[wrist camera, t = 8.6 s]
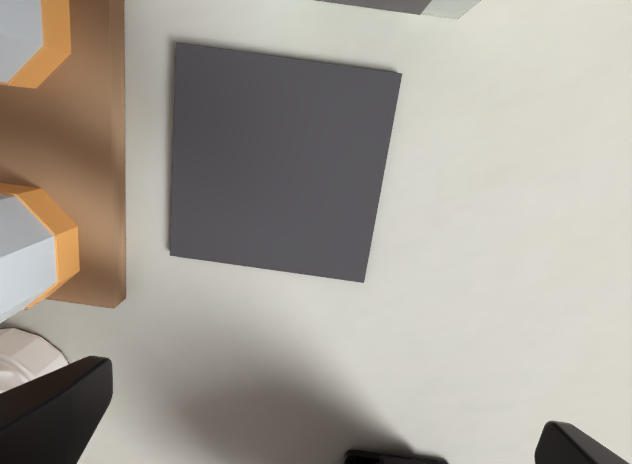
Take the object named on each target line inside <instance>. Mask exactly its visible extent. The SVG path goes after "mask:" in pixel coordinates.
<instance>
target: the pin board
mask: <svg viewBox="0 0 632 464" xmlns="http://www.w3.org/2000/svg"><path fill="white" fill-rule="evenodd" d="M69 11H70V34H71V54H70V55H69V56H68V57H67V58H66V59H65V60H64V61H63V62H62V63H61V64H60V65H59V66H58V67H57V68H56V69H55V70H54V71H53V72H52V73H51V74H50V75H49V76H48V77H47V78H46V79H45V80H44V81H43V82H42V83H41V84H40V85H39V86H38V87H37V88H36V89H34V88H25V87H16V86H8V85H0V183H7V184H14V185H21V186H28V187H36V188H42V189H43V190H44V191H45V192H46V193H47V194H48V195H49V196H50V197H51V199H52V200H53V201H54V202H55V203H56V204H57V205H58V206H59V207H60V208H61V209H62V210H63V211H64V212H65V213H66V215H67V216H68V217H69V218H70V219H71V220H72V221H73V222H74V223H75V224H76V225H77V226H78V243H79V266H80V271H79V272H78V273H76V274H75V275H74V276H73V277H72V278H70V279H69V280H68V281H67V282H66V283H64V284H63V285H62V286H61V287H59V288H58V289H57V290H56V291H55V292H53V293H52V294H51V295H50V296H48V297H47V298H45V299H50V300H57V301H64V302H71V303H78V304H85V305H92V306H99V307H106V308H115V307H116V306H117V305H119V304H120V303H121V302H122V301H123V300H124V299H126V225H125V73H124V0H69Z"/></svg>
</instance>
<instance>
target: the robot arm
mask: <svg viewBox="0 0 632 464" xmlns="http://www.w3.org/2000/svg"><path fill="white" fill-rule="evenodd" d="M112 394H113V373H112V362H111V360H110V359H109V358H105V357H98V356H88V357H85V358H83V359H81V360H78V361H76V362H74V363H71V364H69V365H66V366H64V367H62V368H59V369H57V370H55V371H52V372H50V373H48V374H45V375H43V376H40V377H38V378H36V379H33V380H31V381H29V382H26V383H24V384H22V385H19V386H17V387H14V388H12V389H10V390H7V391H5V392H3V393H0V464H77V462H78V460H79V459H80V457H81V455H82V453H83V451H84V450H85V448H86V446H87V444H88V442H89V440H90V439H91V437H92V435H93V433H94V431H95V429H96V428H97V426H98V424H99V422H100V420H101V419H102V417H103V415H104V413H105V411H106V409H107V408H108V406H109V404H110V401H111V398H112ZM351 459H355V460H351ZM343 464H448V463H442V462H435V461H428V460H421V459H414V458H407V457H400V456H393V455H386V454H379V453H372V452H365V451H358V450H350V451H347V452H346V453H345V456H344V461H343ZM535 464H629V463H628V462H626V461H625V460H623V459H622V458H620V457H619V456H618V455H616V454H615V453H613V452H612V451H610V450H609V449H607V448H606V447H604V446H603V445H601V444H600V443H598V442H597V441H595V440H594V439H593V438H591V437H590V436H588V435H587V434H585V433H584V432H582V431H581V430H579V429H578V428H576V427H575V426H573V425H572V424H569V423H565V422H558V421H548V422H547V423H546V424H545V426H544V428H543V431H542V434H541V437H540V439H539V442H538V445H537V447H536V450H535Z"/></svg>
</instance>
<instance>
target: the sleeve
mask: <svg viewBox="0 0 632 464" xmlns="http://www.w3.org/2000/svg"><path fill="white" fill-rule="evenodd" d="M70 54H71V34H70V11H69V0H0V85H8V86H16V87H25V88H34V89H36V88H37V87H38V86H39V85H40V84H41V83H42V82H43V81H44V80H45V79H46V78H47V77H48V76H49V75H50V74H51V73H52V72H53V71H54V70H55V69H56V68H57V67H58V66H59V65H60V64H61V63H62V62H63V61H64V60H65V59H66V58H67V57H68V56H69V55H70Z"/></svg>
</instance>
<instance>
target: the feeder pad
mask: <svg viewBox="0 0 632 464" xmlns="http://www.w3.org/2000/svg"><path fill="white" fill-rule="evenodd" d="M401 77H402V74H401V73H394V72H387V71H379V70H372V69H365V68H358V67H351V66H343V65H336V64H329V63H322V62H314V61H307V60H300V59H293V58H286V57H278V56H271V55H264V54H257V53H250V52H242V51H235V50H228V49H221V48H214V47H206V46H199V45H192V44H185V43H177V42H176V57H175V93H174V128H173V164H172V200H171V236H170V256H177V257H184V258H192V259H199V260H206V261H213V262H220V263H227V264H234V265H241V266H248V267H256V268H263V269H270V270H277V271H284V272H291V273H298V274H305V275H312V276H320V277H327V278H334V279H341V280H348V281H355V282H362V283H364V279H365V274H366V268H367V263H368V257H369V252H370V246H371V241H372V236H373V230H374V225H375V219H376V214H377V208H378V203H379V197H380V192H381V186H382V181H383V175H384V170H385V164H386V159H387V154H388V148H389V143H390V137H391V132H392V126H393V121H394V115H395V110H396V104H397V99H398V93H399V88H400V82H401Z"/></svg>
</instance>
